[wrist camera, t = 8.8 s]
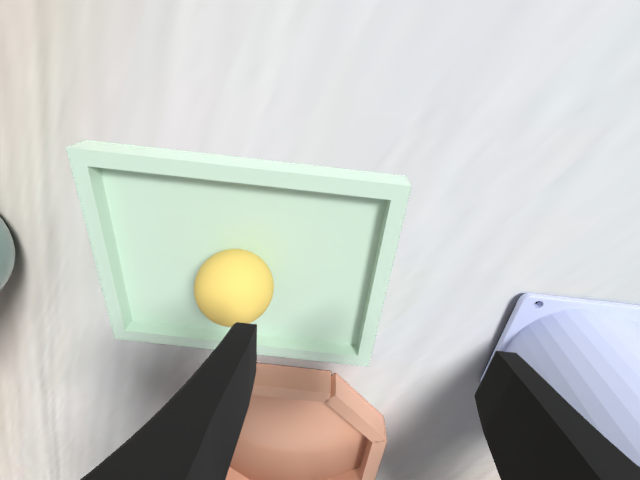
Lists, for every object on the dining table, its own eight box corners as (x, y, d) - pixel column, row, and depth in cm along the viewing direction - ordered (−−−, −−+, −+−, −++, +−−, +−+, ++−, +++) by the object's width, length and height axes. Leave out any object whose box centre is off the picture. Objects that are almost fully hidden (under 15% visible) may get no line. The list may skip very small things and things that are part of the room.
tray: (406, 175, 17) (411, 186, 16) (366, 348, 23) (368, 366, 22) (86, 139, 17) (66, 147, 16) (127, 322, 23) (114, 338, 22)
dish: (396, 378, 24) (400, 400, 23) (362, 490, 32) (363, 513, 30) (183, 354, 24) (172, 375, 23) (198, 472, 32) (190, 494, 30)
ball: (282, 241, 19) (269, 285, 15) (275, 299, 21) (262, 349, 17) (209, 229, 19) (179, 270, 15) (208, 288, 21) (182, 337, 17)
